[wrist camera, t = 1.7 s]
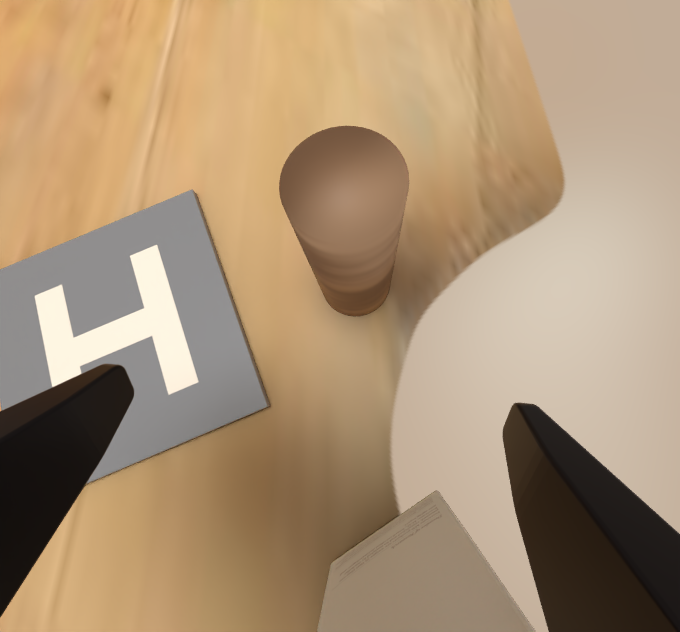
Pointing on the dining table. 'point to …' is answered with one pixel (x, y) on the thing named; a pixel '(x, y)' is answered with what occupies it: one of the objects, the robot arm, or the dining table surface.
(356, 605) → the supplement box
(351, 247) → the walnut pillar
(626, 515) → the robot arm
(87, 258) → the letter board
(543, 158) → the dining table surface
